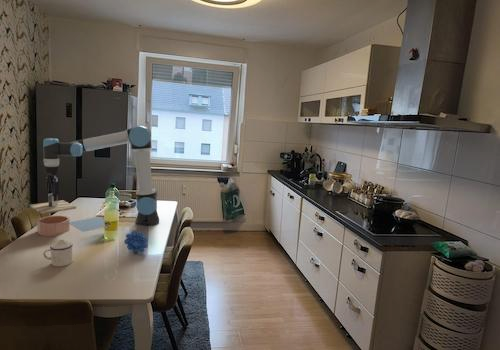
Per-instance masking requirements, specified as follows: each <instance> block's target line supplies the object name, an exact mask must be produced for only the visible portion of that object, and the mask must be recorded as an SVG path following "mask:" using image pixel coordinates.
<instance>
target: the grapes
mask: <svg viewBox="0 0 500 350" xmlns="http://www.w3.org/2000/svg"><path fill="white" fill-rule="evenodd" d="M147 242H148V238H147V237H146V236H144V234H143V232H137V231H135V230H132V231H131V232H130V233H126V235H125V239H124V244H125V245H127V246H126V248H127V249H128V250H130V251H132V252H133V253H135V254H137V253H144V252H145V249H147V248H148V246H149V245H148V243H147Z"/></svg>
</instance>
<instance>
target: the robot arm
mask: <svg viewBox="0 0 500 350" xmlns="http://www.w3.org/2000/svg"><path fill="white" fill-rule="evenodd" d="M151 133H152V132H151V130H150V128H149V127H147V126H146V125H143V124H142V125H141V124H139V125H135V126H134V127H131V128H127V129H125V130H124V131H120V132H119V131H118V132H114V133H109V134H104V135H103V134H102V135H100V136H99V135H98V136H93V137H88V138H83V139H78V140H73V141H71V142H61V141H59V139H58V138H51V137H50V138H48V137H47V138H44V139H43V144H42V145H43V146H42V148H43V152H42V153H43V160H42V161H43V165H44V166H43V169H44V170H43V171H44V173H45V175H44V177H45V189H46V190H45V191H46V192H47V195H48V196H49V195H51V196H52V207H54V206H58V201H59V200H58V196H59V195H60V177H58V176H57V174H58V173H60V156H63V157H81V156H82V155H83V153H87V152H90V151H91V152H92V151H95V150H99V149H106V148H110V147H116V146H120V145H125V144H130V149H131V150H132V151H133V152H134V162H135V170H136V181H137V191H136V192H135V197H136V198H135V199H136V210H137V214H136V217H135V224H137V225H141V226H144V227H148V226H154V225H155V226H156V225H157V224H160V217H159V215H158V214H159V213H158V209H157V208H158V205H157V203H158V190H157V189H156V188H153V175H152V167H151V166H152V165H151V156H150V151H151V149H152V134H151ZM48 196H47V197H48ZM48 202H49V200H48Z"/></svg>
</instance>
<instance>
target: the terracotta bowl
mask: <svg viewBox="0 0 500 350" xmlns="http://www.w3.org/2000/svg"><path fill="white" fill-rule="evenodd" d="M70 220H71V219H70V217H69V216H67V215H49V216H43V217H41V218H39V219H38V220H37V221H36V224H37V225H36V227H37V234H38V235H39V234H40V236H44V237H55V236H56V237H57V236H58V235H60V234H65V233H66V232H69V231H70V229H71V224H70V222H71V221H70Z"/></svg>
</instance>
